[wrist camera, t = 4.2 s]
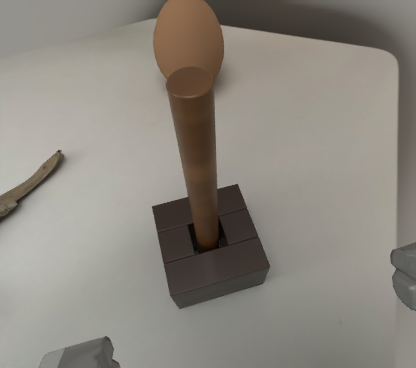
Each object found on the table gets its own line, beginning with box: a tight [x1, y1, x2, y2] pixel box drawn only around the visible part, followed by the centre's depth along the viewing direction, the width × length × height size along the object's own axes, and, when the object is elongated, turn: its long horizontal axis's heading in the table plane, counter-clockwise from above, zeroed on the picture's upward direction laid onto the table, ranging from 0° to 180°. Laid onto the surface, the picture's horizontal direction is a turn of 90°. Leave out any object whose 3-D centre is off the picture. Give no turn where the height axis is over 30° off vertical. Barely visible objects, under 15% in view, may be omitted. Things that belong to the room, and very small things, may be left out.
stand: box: [152, 184, 270, 309], centre depth 26 cm, size 8×8×5 cm
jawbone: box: [0, 150, 64, 216], centre depth 30 cm, size 9×20×2 cm, turn 171°
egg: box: [153, 0, 224, 80], centre depth 36 cm, size 8×8×11 cm
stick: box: [166, 66, 219, 254], centre depth 20 cm, size 2×2×20 cm
